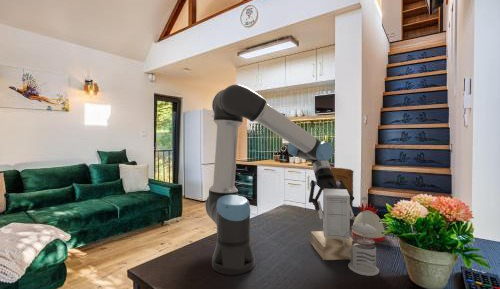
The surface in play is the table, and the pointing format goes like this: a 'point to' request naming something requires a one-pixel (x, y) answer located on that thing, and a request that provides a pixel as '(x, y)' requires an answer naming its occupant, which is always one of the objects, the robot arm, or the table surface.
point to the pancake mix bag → (344, 178)
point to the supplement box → (336, 213)
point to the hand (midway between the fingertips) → (336, 217)
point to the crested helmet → (369, 223)
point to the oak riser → (331, 246)
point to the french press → (363, 250)
